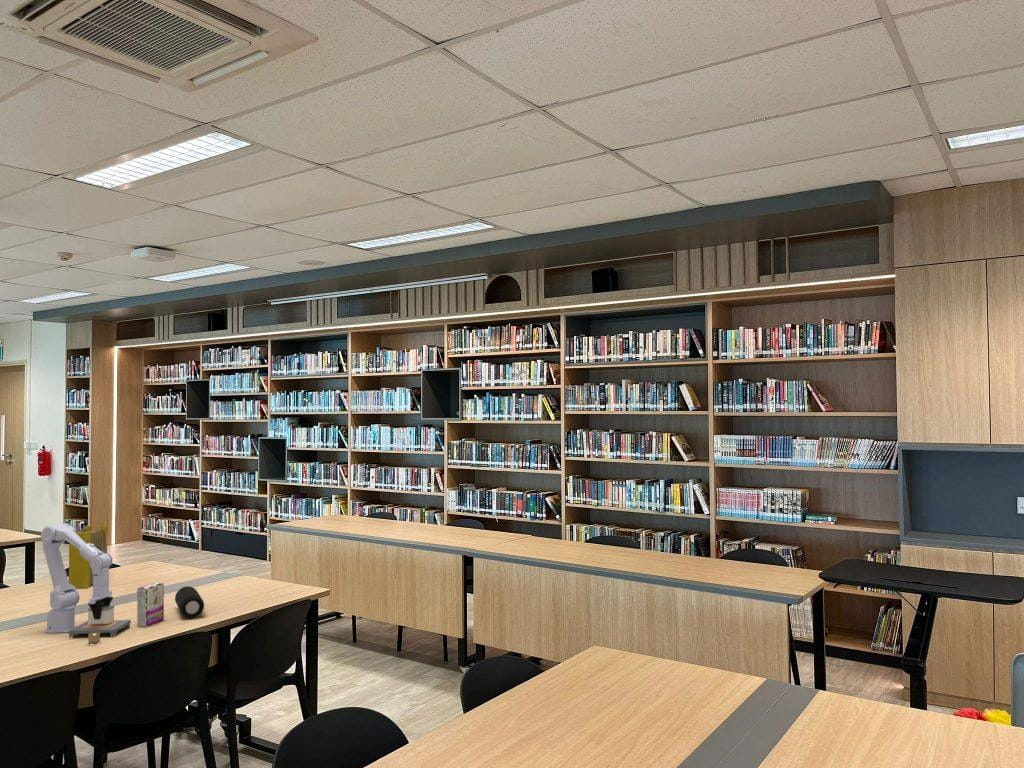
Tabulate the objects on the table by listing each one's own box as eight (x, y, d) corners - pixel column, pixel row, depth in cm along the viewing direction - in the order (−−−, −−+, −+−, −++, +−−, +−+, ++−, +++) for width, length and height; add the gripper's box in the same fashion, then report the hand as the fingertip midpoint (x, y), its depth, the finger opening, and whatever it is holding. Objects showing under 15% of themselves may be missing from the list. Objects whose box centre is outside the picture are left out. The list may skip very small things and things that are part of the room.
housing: (108, 623, 299) (108, 608, 299) (87, 623, 299) (88, 609, 299) (113, 620, 304) (114, 605, 304) (94, 620, 304) (94, 605, 304)
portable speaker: (174, 608, 339) (174, 586, 340) (197, 605, 344) (197, 584, 345) (180, 621, 317) (180, 598, 318) (204, 618, 322) (205, 595, 323)
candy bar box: (154, 619, 320) (154, 581, 321) (164, 620, 319) (164, 582, 320) (136, 626, 309) (136, 587, 310) (146, 627, 308) (147, 588, 309)
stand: (68, 638, 294) (68, 630, 294) (86, 628, 308) (86, 620, 308) (114, 637, 295) (114, 628, 295) (130, 627, 309) (130, 619, 309)
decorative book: (87, 588, 381) (88, 530, 382) (66, 588, 381) (67, 530, 382) (108, 580, 401) (109, 524, 402) (88, 580, 401) (89, 525, 402)
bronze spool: (86, 645, 284) (86, 635, 285) (91, 642, 288) (91, 632, 289) (96, 645, 285) (96, 634, 285) (102, 641, 289) (102, 631, 289)
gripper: (102, 587, 295) (101, 622, 294) (119, 579, 310) (119, 612, 309) (84, 588, 295) (83, 622, 294) (102, 580, 309) (101, 612, 309)
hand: (100, 617), depth 301 cm, fingers closed on housing, 5 cm apart
